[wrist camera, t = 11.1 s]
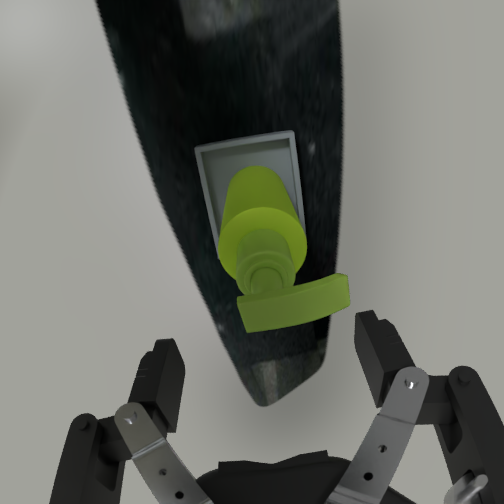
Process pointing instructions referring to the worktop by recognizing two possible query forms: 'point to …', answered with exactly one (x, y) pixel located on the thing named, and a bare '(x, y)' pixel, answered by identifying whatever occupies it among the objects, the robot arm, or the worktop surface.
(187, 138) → the worktop surface
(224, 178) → the tray
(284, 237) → the soap dispenser
